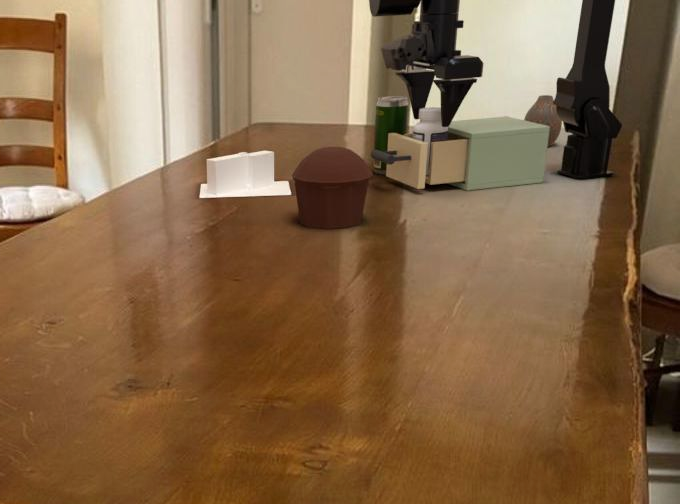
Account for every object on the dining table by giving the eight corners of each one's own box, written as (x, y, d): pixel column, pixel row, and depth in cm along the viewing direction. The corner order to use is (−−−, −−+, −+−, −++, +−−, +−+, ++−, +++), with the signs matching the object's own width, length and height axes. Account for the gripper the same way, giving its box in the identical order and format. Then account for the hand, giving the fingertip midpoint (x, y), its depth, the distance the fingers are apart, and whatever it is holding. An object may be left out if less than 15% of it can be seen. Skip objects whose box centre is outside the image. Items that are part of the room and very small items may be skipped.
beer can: (388, 176, 171) (392, 101, 166) (366, 172, 175) (369, 98, 170) (410, 171, 174) (415, 97, 168) (389, 167, 178) (392, 95, 172)
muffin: (378, 228, 140) (382, 154, 135) (299, 233, 140) (300, 158, 135) (359, 210, 151) (362, 140, 146) (286, 214, 150) (286, 144, 145)
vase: (527, 141, 195) (533, 92, 191) (563, 143, 192) (570, 94, 187) (515, 147, 190) (520, 97, 186) (551, 149, 187) (558, 99, 183)
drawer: (393, 191, 157) (395, 146, 153) (362, 178, 166) (364, 135, 163) (489, 181, 160) (494, 136, 157) (453, 169, 170) (457, 126, 167)
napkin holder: (199, 198, 163) (198, 161, 160) (200, 184, 173) (199, 149, 170) (292, 194, 162) (292, 157, 159) (288, 180, 172) (288, 145, 169)
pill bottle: (446, 169, 164) (451, 106, 160) (442, 176, 160) (448, 111, 155) (412, 169, 166) (417, 106, 161) (408, 175, 161) (412, 111, 157)
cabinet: (466, 190, 159) (472, 133, 155) (428, 176, 170) (432, 122, 166) (543, 182, 162) (550, 126, 158) (501, 169, 173) (506, 116, 169)
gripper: (363, 14, 158) (359, 119, 165) (419, 19, 142) (411, 135, 149) (428, 10, 160) (421, 114, 168) (490, 14, 144) (479, 129, 152)
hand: (431, 122), depth 159 cm, fingers open, 9 cm apart
